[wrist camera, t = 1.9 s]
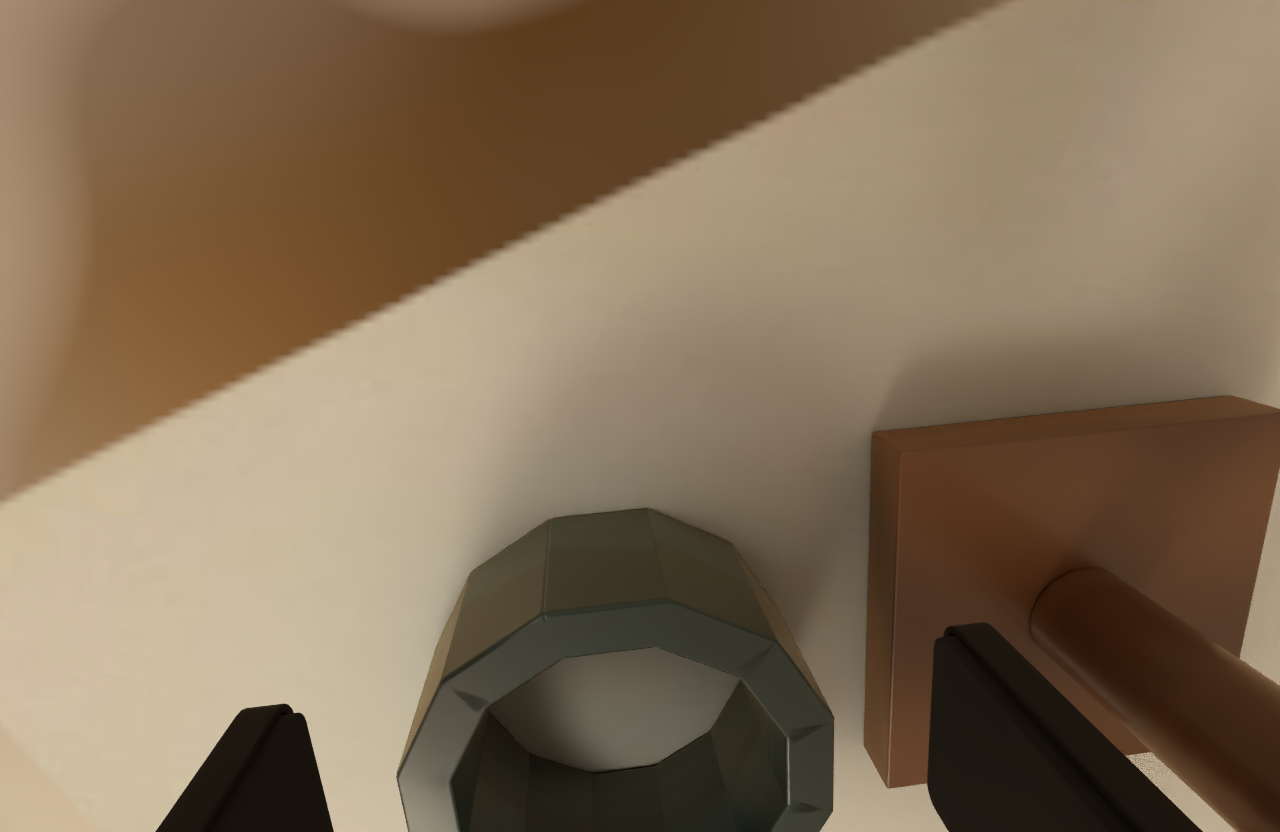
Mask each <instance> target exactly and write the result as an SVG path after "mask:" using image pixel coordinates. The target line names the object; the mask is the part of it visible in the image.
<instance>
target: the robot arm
mask: <svg viewBox="0 0 1280 832" xmlns="http://www.w3.org/2000/svg"><path fill="white" fill-rule="evenodd" d="M927 785H928V791H929V795H930V798H931V801H932V803H933V806H934V808H935V810H936V811H937V813H938V815H939V816H940V818H941V820H942V821H943V823H944V825H945V826H946V828H947V830H948V831H949V832H1202V831H1201V830H1200V829H1199V828H1198V827H1197V826H1196V825H1195V824H1194V823H1193V822H1192V821H1191V820H1190V819H1189V818H1188V817H1187V816H1186V815H1185V814H1184V813H1183V812H1182V811H1181V810H1180V809H1179V808H1178V807H1177V806H1176V805H1175V804H1174V803H1173V802H1172V801H1171V800H1170V799H1169V798H1168V797H1167V796H1166V795H1165V794H1164V793H1162V792H1161V791H1160V790H1159V789H1158V788H1157V787H1156V786H1155V785H1154V784H1153V783H1152V782H1151V781H1150V780H1149V779H1148V778H1147V777H1146V776H1145V775H1144V774H1143V773H1142V772H1141V771H1140V770H1139V769H1138V768H1137V767H1136V766H1135V765H1134V764H1133V763H1132V762H1131V761H1130V760H1129V759H1128V758H1127V757H1126V756H1125V755H1124V754H1123V753H1122V752H1121V751H1120V750H1119V749H1118V748H1117V747H1115V746H1114V745H1113V744H1112V743H1111V742H1110V741H1109V740H1108V739H1107V738H1106V737H1105V736H1104V735H1103V734H1102V733H1101V732H1100V731H1099V730H1098V729H1097V728H1096V727H1095V726H1094V725H1093V724H1092V723H1091V722H1090V721H1089V720H1088V719H1087V718H1086V717H1085V716H1084V715H1083V714H1082V713H1081V712H1080V711H1079V710H1078V709H1077V708H1076V707H1075V706H1074V705H1073V704H1072V703H1071V702H1070V701H1068V700H1067V699H1066V698H1065V697H1064V696H1063V695H1062V694H1061V693H1060V692H1059V691H1058V690H1057V689H1056V688H1055V687H1054V686H1053V685H1052V684H1051V683H1050V682H1049V681H1048V680H1047V679H1046V678H1045V677H1044V676H1043V675H1042V674H1041V673H1040V672H1039V671H1038V670H1037V669H1036V668H1035V667H1034V666H1033V665H1032V664H1031V663H1030V662H1029V661H1028V660H1027V659H1026V658H1025V657H1024V656H1022V655H1021V654H1020V653H1019V652H1018V651H1017V650H1016V649H1015V648H1014V647H1013V646H1012V645H1011V644H1010V643H1009V642H1008V641H1007V640H1006V639H1005V638H1004V637H1003V636H1002V635H1001V634H1000V633H999V632H998V631H997V630H996V629H995V628H994V627H993V626H991V625H990V624H989V623H985V622H981V623H972V624H964V625H955V626H949V627H947V628H946V629H945V631H944V635H943V637H939V638H937V639H936V640H935V642H934V652H933V672H932V692H931V712H930V732H929V752H928V772H927ZM156 832H334V831H333V827H332V823H331V819H330V815H329V811H328V807H327V803H326V799H325V795H324V791H323V787H322V783H321V779H320V775H319V771H318V767H317V763H316V759H315V755H314V751H313V747H312V743H311V739H310V735H309V731H308V727H307V723H306V720H305V717H304V716H303V714H301V713H293V710H292V708H291V707H290V706H289V705H287V704H278V705H270V706H261V707H253V708H246V709H243V710H241V711H240V713H239V714H238V715H237V716H236V717H235V719H234V720H233V722H232V723H231V724H230V726H229V727H228V729H227V730H226V732H225V733H224V734H223V736H222V737H221V739H220V740H219V742H218V743H217V744H216V746H215V747H214V749H213V750H212V752H211V753H210V755H209V756H208V757H207V759H206V760H205V762H204V763H203V765H202V766H201V767H200V769H199V770H198V772H197V773H196V775H195V776H194V777H193V779H192V780H191V782H190V783H189V785H188V786H187V787H186V789H185V790H184V792H183V793H182V795H181V796H180V798H179V799H178V800H177V802H176V803H175V805H174V806H173V808H172V809H171V810H170V812H169V813H168V815H167V816H166V818H165V819H164V820H163V822H162V823H161V825H160V826H159V828H158V829H157V831H156Z"/></svg>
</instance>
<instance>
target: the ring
mask: <svg viewBox="0 0 1280 832" xmlns="http://www.w3.org/2000/svg"><path fill="white" fill-rule="evenodd" d="M652 647H658V648H660V649H663V650H666V651H669V652H671V653H674V654H677V655H680V656H682V657H685V658H688V659H691V660H693V661H696V662H699V663H702V664H704V665H707V666H710V667H713V668H716V669H718V670H721V671H724V672H727V673H729V674H732V675H735V676H738V677H740V679H741V680H740V682H739V684H738V685H737V687H736V689H735V690H734V692H733V694H732V696H731V697H730V699H729V701H728V702H727V704H726V706H725V707H724V709H723V711H722V713H721V714H720V716H719V718H718V719H717V721H716V723H715V724H714V726H713V728H712V730H711V731H710V732H709V733H707V734H705V735H704V736H702V737H701V738H699V739H697V740H696V741H694V742H693V743H691V744H689V745H688V746H686V747H685V748H683V749H681V750H680V751H678V752H677V753H675V754H673V755H672V756H670V757H669V758H667V759H666V760H664V761H662V762H661V763H659V764H658V765H656V766H651V767H644V768H636V769H629V770H621V771H614V772H606V773H599V774H590V773H587V772H584V771H581V770H577V769H574V768H571V767H568V766H565V765H561V764H558V763H555V762H552V761H549V760H545V759H542V758H539V757H536V756H533V755H530V754H528V753H527V752H526V751H525V750H524V749H523V748H522V746H521V745H520V744H519V743H518V742H517V741H516V740H515V739H514V738H513V737H512V736H511V735H510V734H509V733H508V732H507V731H506V730H505V729H504V728H503V727H502V725H501V724H500V723H499V722H498V721H497V720H496V719H495V718H494V717H493V716H492V715H491V714H490V713H489V711H488V707H489V706H491V705H492V704H494V703H495V702H497V701H499V700H500V699H502V698H503V697H505V696H506V695H508V694H509V693H511V692H512V691H514V690H515V689H517V688H518V687H520V686H521V685H523V684H525V683H526V682H528V681H529V680H531V679H532V678H534V677H535V676H537V675H538V674H540V673H541V672H543V671H544V670H546V669H548V668H549V667H551V666H552V665H554V664H555V663H557V662H558V661H560V660H561V659H563V658H569V657H578V656H586V655H594V654H602V653H611V652H619V651H627V650H635V649H643V648H652ZM833 769H834V716H833V714H832V712H831V710H830V708H829V706H828V704H827V702H826V700H825V698H824V696H823V695H822V693H821V691H820V689H819V687H818V685H817V683H816V681H815V679H814V677H813V675H812V673H811V671H810V669H809V668H808V666H807V664H806V662H805V660H804V658H803V656H802V654H801V652H800V650H799V648H798V646H797V644H796V642H795V640H794V639H793V637H792V635H791V633H790V631H789V629H788V627H787V625H786V623H785V621H784V619H783V617H782V615H781V613H780V612H779V610H778V608H777V606H776V605H775V603H774V602H773V601H772V599H771V598H770V596H769V595H768V594H767V592H766V591H765V589H764V588H763V587H762V585H761V584H760V582H759V581H758V580H757V578H756V577H755V576H754V574H753V573H752V571H751V570H750V569H749V567H748V566H747V564H746V563H745V562H744V560H743V559H742V558H741V556H740V555H739V553H738V552H737V551H736V549H735V548H734V546H733V545H732V544H731V543H730V542H728V541H726V540H724V539H721V538H719V537H716V536H714V535H711V534H709V533H706V532H704V531H701V530H699V529H697V528H694V527H692V526H689V525H687V524H684V523H682V522H679V521H677V520H675V519H672V518H670V517H667V516H665V515H662V514H660V513H657V512H655V511H652V510H650V509H647V508H646V509H637V510H628V511H619V512H609V513H600V514H591V515H581V516H572V517H563V518H553V519H550V520H547V521H546V522H544V523H543V524H541V525H540V526H538V527H537V528H535V529H534V530H532V531H531V532H529V533H528V534H526V535H525V536H523V537H522V538H520V539H519V540H517V541H516V542H514V543H513V544H512V545H510V546H509V547H507V548H506V549H504V550H503V551H501V552H500V553H498V554H497V555H495V556H494V557H492V558H491V559H489V560H488V561H486V562H485V563H483V564H482V565H480V566H479V567H477V568H476V569H474V570H473V571H472V572H471V573H470V575H469V577H468V579H467V581H466V583H465V585H464V588H463V590H462V592H461V594H460V596H459V599H458V601H457V603H456V605H455V607H454V609H453V612H452V614H451V616H450V618H449V620H448V622H447V625H446V627H445V629H444V631H443V633H442V636H441V638H440V640H439V642H438V644H437V646H436V649H435V652H434V656H433V659H432V662H431V665H430V668H429V672H428V675H427V678H426V681H425V684H424V688H423V691H422V694H421V697H420V700H419V703H418V707H417V710H416V713H415V716H414V719H413V723H412V726H411V729H410V732H409V735H408V739H407V742H406V745H405V748H404V751H403V755H402V758H401V761H400V764H399V767H398V771H397V776H396V777H397V782H398V787H399V791H400V796H401V800H402V805H403V809H404V814H405V818H406V823H407V827H408V832H819V831H820V830H821V828H822V827H823V825H824V824H825V822H826V821H827V819H828V818H829V816H830V815H831V813H832V812H833Z"/></svg>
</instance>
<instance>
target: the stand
mask: <svg viewBox="0 0 1280 832" xmlns="http://www.w3.org/2000/svg"><path fill="white" fill-rule="evenodd" d="M1279 468H1280V409H1278V408H1274V407H1270V406H1267V405H1263V404H1260V403H1256V402H1253V401H1249V400H1245V399H1242V398H1238V397H1235V396H1222V397H1212V398H1202V399H1192V400H1183V401H1173V402H1163V403H1153V404H1143V405H1134V406H1124V407H1114V408H1104V409H1094V410H1085V411H1075V412H1065V413H1055V414H1045V415H1036V416H1026V417H1016V418H1006V419H997V420H987V421H977V422H967V423H957V424H948V425H938V426H928V427H918V428H908V429H899V430H889V431H879V432H873V433H872V452H871V490H870V528H869V566H868V604H867V642H866V680H865V718H864V747H865V749H866V750H867V752H868V754H869V756H870V758H871V760H872V761H873V763H874V765H875V767H876V769H877V771H878V772H879V774H880V776H881V778H882V780H883V782H884V783H885V785H886V787H887V788H896V787H903V786H910V785H917V784H925V783H927V772H928V752H929V732H930V712H931V692H932V672H933V652H934V642H935V640H936V639H937V638H939V637H943V635H944V631H945V629H946V628H947V627H949V626H955V625H964V624H972V623H981V622H985V623H989V624H990V625H991V626H993V627H994V628H995V629H996V630H997V631H998V632H999V633H1000V634H1001V635H1002V636H1003V637H1004V638H1005V639H1006V640H1007V641H1008V642H1009V643H1010V644H1011V645H1012V646H1013V647H1014V648H1015V649H1016V650H1017V651H1018V652H1019V653H1020V654H1021V655H1022V656H1024V657H1025V658H1026V659H1027V660H1028V661H1029V662H1030V663H1031V664H1032V665H1033V666H1034V667H1035V668H1036V669H1037V670H1038V671H1039V672H1040V673H1041V674H1042V675H1043V676H1044V677H1045V678H1046V679H1047V680H1048V681H1049V682H1050V683H1051V684H1052V685H1053V686H1054V687H1055V688H1056V689H1057V690H1058V691H1059V692H1060V693H1061V694H1062V695H1063V696H1064V697H1065V698H1066V699H1067V700H1068V701H1070V702H1071V703H1072V704H1073V705H1074V706H1075V707H1076V708H1077V709H1078V710H1079V711H1080V712H1081V713H1082V714H1083V715H1084V716H1085V717H1086V718H1087V719H1088V720H1089V721H1090V722H1091V723H1092V724H1093V725H1094V726H1095V727H1096V728H1097V729H1098V730H1099V731H1100V732H1101V733H1102V734H1103V735H1104V736H1105V737H1106V738H1107V739H1108V740H1109V741H1110V742H1111V743H1112V744H1113V745H1114V746H1115V747H1117V748H1118V749H1119V750H1120V751H1121V752H1122V753H1123V754H1124V755H1125V756H1126V755H1133V754H1140V753H1147V752H1152V753H1153V754H1154V755H1155V756H1156V757H1157V758H1159V759H1160V760H1161V761H1162V762H1163V763H1164V764H1165V765H1166V766H1167V767H1168V768H1169V769H1170V770H1171V771H1172V772H1174V773H1175V774H1176V775H1177V776H1178V777H1179V778H1180V779H1181V780H1182V781H1183V782H1184V783H1185V784H1186V785H1187V786H1189V787H1190V788H1191V789H1192V790H1193V791H1194V792H1195V793H1196V794H1197V795H1198V796H1199V797H1200V798H1201V799H1202V800H1204V801H1205V802H1206V803H1207V804H1208V805H1209V806H1210V807H1211V808H1212V809H1213V810H1214V811H1215V812H1216V813H1217V814H1219V815H1220V816H1221V817H1222V818H1223V819H1224V820H1225V821H1226V822H1227V823H1228V824H1229V825H1230V826H1231V827H1232V828H1234V829H1235V830H1236V831H1237V832H1280V686H1279V685H1278V684H1276V683H1275V682H1273V681H1272V680H1270V679H1269V678H1267V677H1266V676H1264V675H1263V674H1261V673H1260V672H1258V671H1257V670H1255V669H1254V668H1252V667H1251V666H1249V665H1248V664H1246V663H1245V662H1244V661H1242V660H1241V659H1239V657H1240V652H1241V648H1242V643H1243V638H1244V634H1245V629H1246V624H1247V619H1248V615H1249V610H1250V605H1251V601H1252V596H1253V591H1254V586H1255V582H1256V577H1257V572H1258V567H1259V563H1260V558H1261V553H1262V549H1263V544H1264V539H1265V534H1266V530H1267V525H1268V520H1269V516H1270V511H1271V506H1272V501H1273V497H1274V492H1275V487H1276V483H1277V478H1278V473H1279Z"/></svg>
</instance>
